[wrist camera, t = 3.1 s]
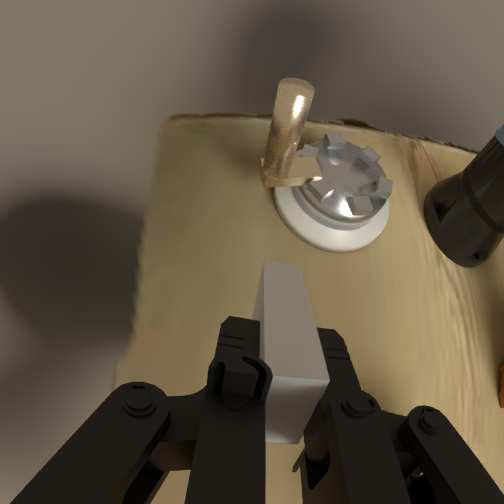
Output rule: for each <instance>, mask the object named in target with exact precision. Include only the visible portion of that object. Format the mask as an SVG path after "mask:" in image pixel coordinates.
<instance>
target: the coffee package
mask: <svg viewBox="0 0 504 504" xmlns="http://www.w3.org/2000/svg"><path fill="white" fill-rule="evenodd" d="M500 372H501V381H500V386H501V388H500V394H499V399H500V407H501V408H504V364H503V365H502V366H501V369H500Z"/></svg>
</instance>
